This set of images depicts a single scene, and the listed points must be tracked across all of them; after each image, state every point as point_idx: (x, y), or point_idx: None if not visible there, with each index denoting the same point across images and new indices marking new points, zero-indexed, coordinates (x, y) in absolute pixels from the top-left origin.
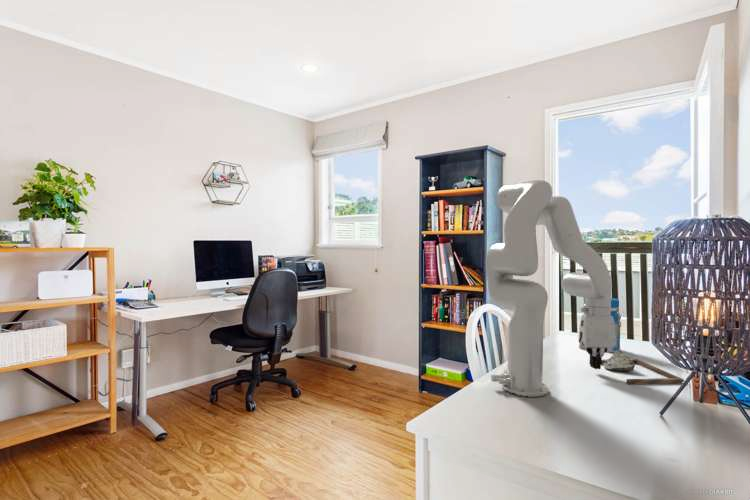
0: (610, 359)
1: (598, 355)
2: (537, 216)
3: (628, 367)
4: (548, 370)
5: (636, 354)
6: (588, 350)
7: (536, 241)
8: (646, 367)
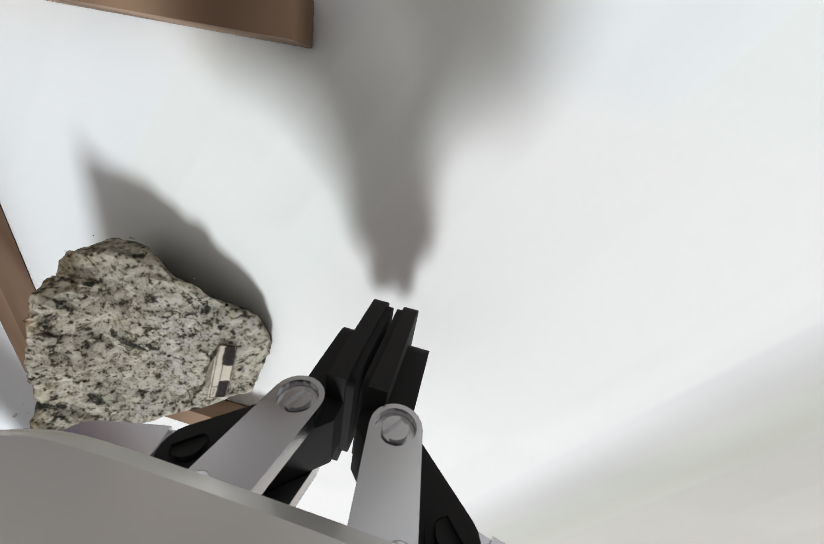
0: (180, 399)
1: (334, 408)
2: None
3: (131, 257)
4: (690, 460)
5: (17, 425)
6: (467, 530)
7: None
8: (24, 280)
